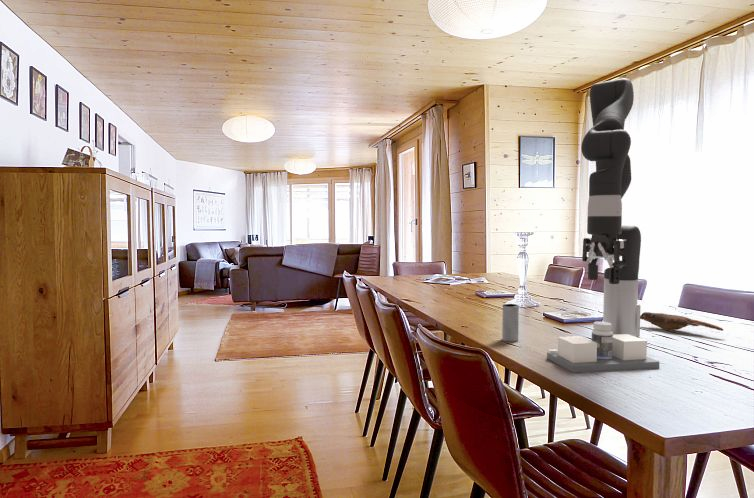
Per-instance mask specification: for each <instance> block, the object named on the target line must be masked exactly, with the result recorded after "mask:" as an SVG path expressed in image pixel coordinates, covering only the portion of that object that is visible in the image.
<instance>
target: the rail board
mask: <svg viewBox="0 0 754 498" xmlns="http://www.w3.org/2000/svg"><path fill="white" fill-rule="evenodd" d="M647 349H648V340H646V339H643V338H640V337H639V336H638V337H635V336H632V335H629V334H617V335H613V354H612V358H611V359H597V343H596V342H594V341H592V339H589V338H587V337H585V336H584V337H583V336H582V335H576V336H574V335H572V336H558V337H557V348H556V349H554V348H553V349H547V352H546V359H547V360H549V361H551V362H552V363H554V364H556V365H559V366H560V367H562V368H563V369H565V370H567V371H569V372H570V373H590V372H609V371H612V372H613V371H630V370H645V369H646V370H647V369H648V370H649V369H659V368H660V361H659V360H656V359H653V358H651V357H649V356H647V353H648V352H647V351H648V350H647Z"/></svg>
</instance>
